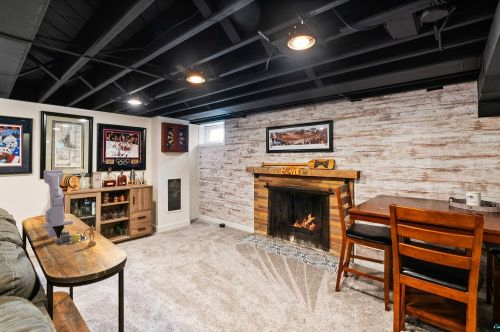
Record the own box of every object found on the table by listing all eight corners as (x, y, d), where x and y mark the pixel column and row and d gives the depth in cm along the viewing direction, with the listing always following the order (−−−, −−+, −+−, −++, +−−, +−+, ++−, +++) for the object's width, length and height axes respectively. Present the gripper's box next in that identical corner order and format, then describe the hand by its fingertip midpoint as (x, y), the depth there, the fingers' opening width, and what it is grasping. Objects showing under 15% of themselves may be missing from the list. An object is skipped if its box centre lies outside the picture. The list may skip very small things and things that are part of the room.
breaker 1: (60, 237, 152) (60, 232, 151) (67, 236, 154) (67, 230, 154) (61, 238, 150) (61, 233, 149) (68, 237, 152) (68, 231, 152)
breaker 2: (61, 241, 146) (61, 235, 146) (68, 239, 148) (68, 234, 148) (62, 242, 144) (62, 236, 144) (69, 240, 147) (69, 235, 146)
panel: (52, 240, 150) (52, 236, 150) (80, 235, 162) (80, 231, 161) (58, 248, 139) (58, 243, 139) (89, 241, 150) (88, 236, 150)
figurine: (84, 249, 137) (83, 229, 136) (82, 246, 141) (82, 226, 141) (101, 246, 142) (100, 226, 142) (99, 243, 147) (99, 224, 146)
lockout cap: (71, 241, 147) (71, 234, 147) (79, 239, 150) (79, 233, 150) (73, 242, 144) (73, 236, 144) (81, 241, 147) (81, 234, 147)
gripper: (44, 219, 141) (44, 242, 141) (73, 215, 152) (74, 236, 152) (41, 217, 146) (42, 239, 146) (71, 213, 156) (71, 233, 157)
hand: (58, 237), depth 149 cm, fingers closed
